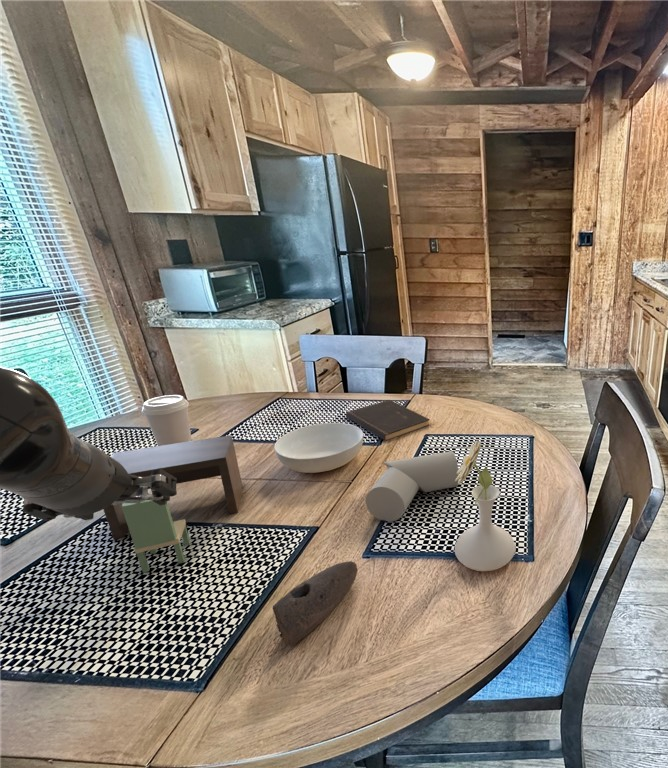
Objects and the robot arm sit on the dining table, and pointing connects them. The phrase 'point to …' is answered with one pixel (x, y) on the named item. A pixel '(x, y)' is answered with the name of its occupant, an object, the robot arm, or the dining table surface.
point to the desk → (181, 470)
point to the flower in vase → (483, 524)
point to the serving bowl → (319, 447)
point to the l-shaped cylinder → (410, 483)
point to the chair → (154, 529)
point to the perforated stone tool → (312, 601)
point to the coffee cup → (168, 419)
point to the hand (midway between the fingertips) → (128, 505)
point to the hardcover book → (388, 419)
